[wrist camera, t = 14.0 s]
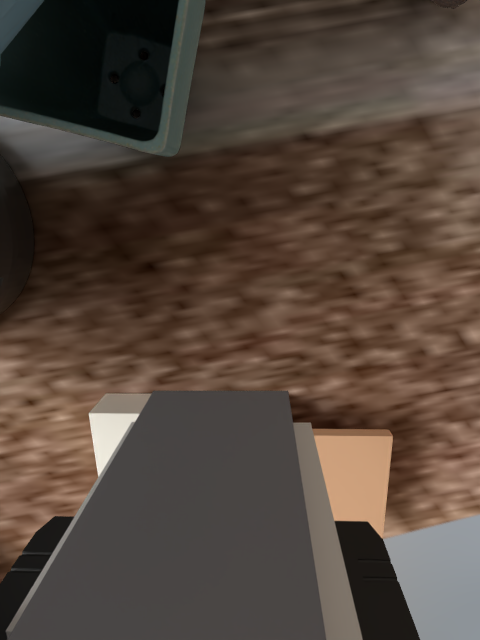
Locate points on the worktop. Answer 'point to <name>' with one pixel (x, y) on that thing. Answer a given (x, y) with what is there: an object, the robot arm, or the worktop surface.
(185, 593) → the plug
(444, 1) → the perforated stone tool
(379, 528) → the shutter
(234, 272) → the worktop surface
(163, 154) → the flower pot
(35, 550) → the robot arm
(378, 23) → the worktop surface
